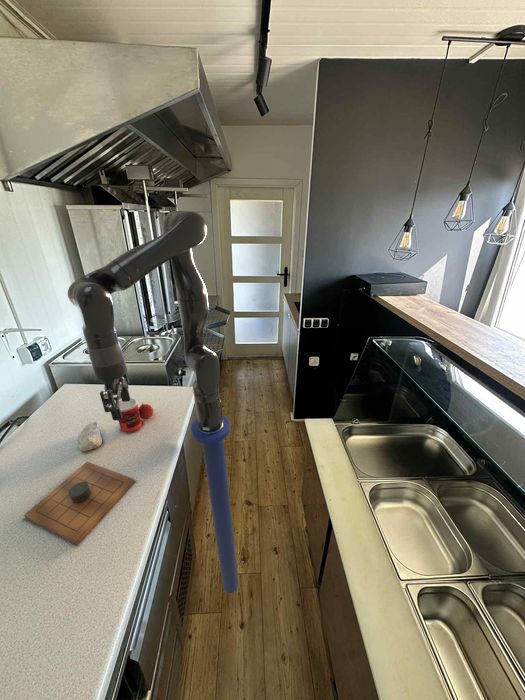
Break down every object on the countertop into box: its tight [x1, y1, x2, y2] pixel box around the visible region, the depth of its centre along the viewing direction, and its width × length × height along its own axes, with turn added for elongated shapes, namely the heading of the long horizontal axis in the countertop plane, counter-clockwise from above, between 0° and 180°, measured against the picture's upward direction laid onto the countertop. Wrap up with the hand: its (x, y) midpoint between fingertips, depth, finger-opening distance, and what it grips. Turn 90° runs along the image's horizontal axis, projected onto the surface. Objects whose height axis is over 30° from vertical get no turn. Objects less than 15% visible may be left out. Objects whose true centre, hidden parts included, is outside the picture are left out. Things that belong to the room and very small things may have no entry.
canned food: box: [117, 397, 143, 434], centre depth 110 cm, size 8×8×11 cm
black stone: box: [68, 482, 91, 504], centre depth 83 cm, size 5×5×3 cm
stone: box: [76, 420, 103, 452], centre depth 104 cm, size 8×12×10 cm
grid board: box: [23, 461, 135, 546], centre depth 84 cm, size 20×20×2 cm
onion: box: [138, 402, 154, 420], centre depth 115 cm, size 6×6×8 cm
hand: (122, 409), depth 81 cm, fingers open, 8 cm apart
